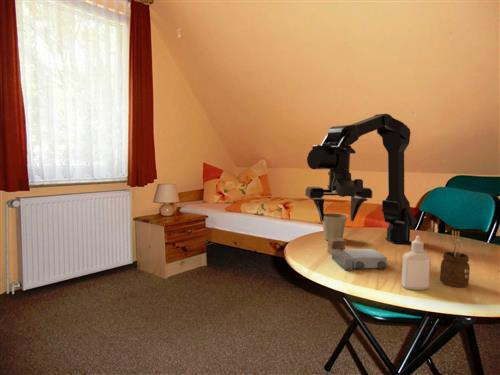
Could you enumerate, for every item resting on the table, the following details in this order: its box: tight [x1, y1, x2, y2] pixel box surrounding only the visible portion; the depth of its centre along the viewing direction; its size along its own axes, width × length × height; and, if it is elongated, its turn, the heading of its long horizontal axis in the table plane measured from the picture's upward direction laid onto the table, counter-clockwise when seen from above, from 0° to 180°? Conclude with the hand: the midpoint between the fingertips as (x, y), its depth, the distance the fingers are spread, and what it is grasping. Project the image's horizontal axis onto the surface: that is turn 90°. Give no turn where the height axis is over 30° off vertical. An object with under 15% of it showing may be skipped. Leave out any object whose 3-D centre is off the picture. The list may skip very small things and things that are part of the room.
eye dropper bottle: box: [401, 235, 431, 291], centre depth 80 cm, size 4×6×12 cm
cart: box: [343, 248, 388, 270], centre depth 96 cm, size 9×10×3 cm
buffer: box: [331, 249, 353, 271], centre depth 96 cm, size 2×10×3 cm, turn 6°
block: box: [327, 238, 346, 256], centre depth 106 cm, size 4×4×4 cm
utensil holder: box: [439, 230, 471, 288], centre depth 83 cm, size 6×6×12 cm
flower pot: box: [322, 212, 349, 241], centre depth 123 cm, size 9×9×9 cm
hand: (337, 221), depth 105 cm, fingers open, 9 cm apart
